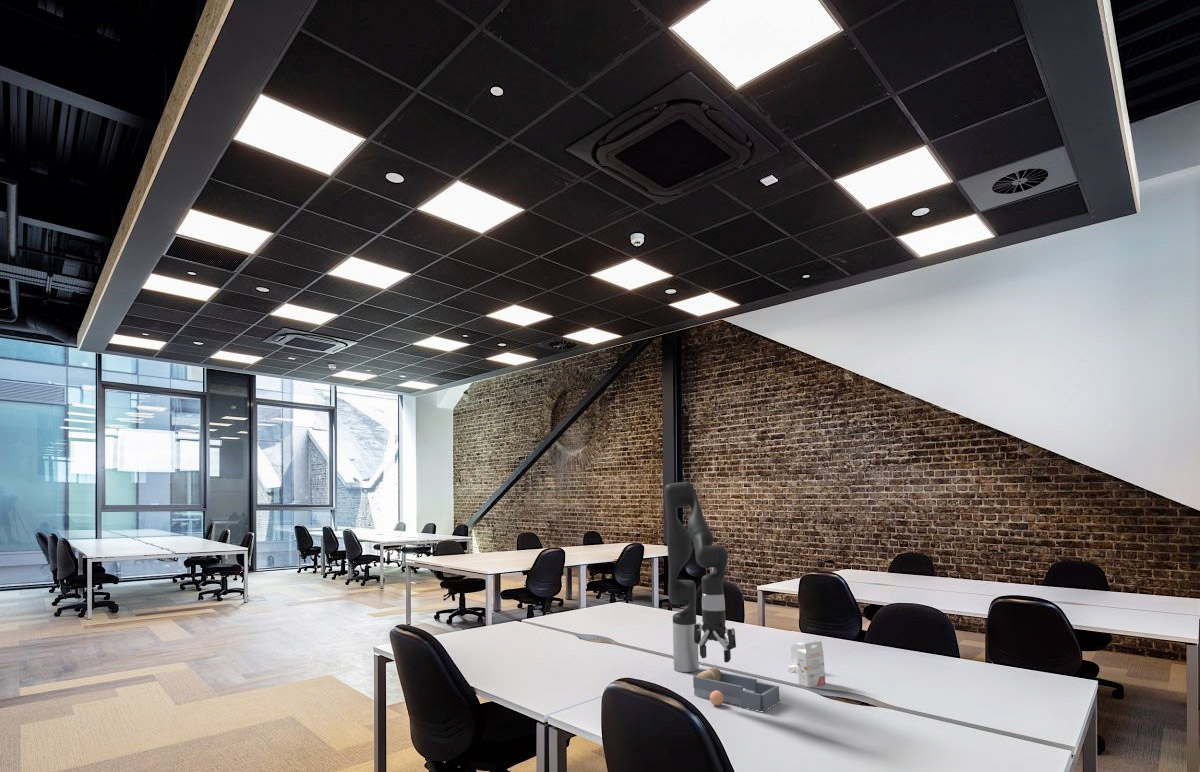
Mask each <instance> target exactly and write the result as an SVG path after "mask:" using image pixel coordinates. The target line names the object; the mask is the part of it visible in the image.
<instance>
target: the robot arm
mask: <svg viewBox="0 0 1200 772" xmlns="http://www.w3.org/2000/svg"><path fill="white" fill-rule="evenodd" d="M664 505H665V506H664V507H665V513H666V527H667V528H666V532H667V533H666V534H667V537H666V538H667V539H666V540H667V541H666V543H667V544H666V545H667V561H668V562H667V563H668V585H667V591H668V592H667V594H668V596H667V597H668V600H669V602H670V604H672V605H683V606H684V605H685V606H686V605H687V607H686V608H684V609H683V610H682V611H679V612H675V613H674V614H673V615H672V643H673V645H672V646H673V648H672V649H673V653H672V654H673V669H674V671H675V672H676V671H677V672H681V673H694V672H696V671H698V670H699V667H700V666H699V665H700V664H699V663H700V662H699V656H700V658H701V659H706V658H707V645H706V644H707V643H708V641H714V642H718V643H719V644H720V645H721V646H722V648H723V649H724V650H723V661H724V663H729V662H730V661H731V660H732V656H731V655H732V654H731V650H733V649H735V648H737V642H736V633H735V628H733V627H731V628H727V627H726V621H727V620H726V599H725V594H724V590H725V589H724V579H725V576H726V575H725V574H726V570H727V565H728V560H729V555H728V551H727V549H726V548H725V547H724V546H723V545H720V544H719V545H713V543H714V536H713V533H712V531H711V529H710V527H709V526H708V524H707V521H706V520H705V517H704V514H703V513H704V512H703V511H702V506H701V503H700V500H699V498H698V495H697V492H696V489H695V487H694V485H693V484H692V482H691V481H681V482H673V483H668V484H666V485H665V487H664ZM685 507H690V509H691V511H690V514H689V517H688V521H687V528H686V527H685V525H684V524H683V523H682V522H681V520H680V519H679V517H678V515H677V509H678V508H679V509H680V508H685ZM692 543H693V547H694V551H695V552H694V555H695V561H696V564H697V565H698V566H699V567H701V568H704V569H705V568H713V570H712V572H709V573H708V574H705V575H703V576H702V578H701V592H702V594H701V595H702V596H701V616H702V618H701V619H702V621H701V622H702V624H701V623H697V611H696V610H697V586H696V585H697V584H696V582H695V581H694V580H691V579H678V576H679V574H680V572H681V570H682V569H683V567H684V566H685V565H686V563H687V562H688V561H689V559H690V557H691V556H692V552H693V551H692V549H693V548H692ZM702 631H703V633H704V634H703V635H702Z"/></svg>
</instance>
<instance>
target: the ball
mask: <svg viewBox="0 0 1200 772" xmlns="http://www.w3.org/2000/svg"><path fill="white" fill-rule="evenodd" d="M709 701H710V703H711V704H712V705H714V706H716V707H718V706H721V705H722V704H723V703H724V702H723V701H724V697H723V694H722V693H721V692H720V691H713V692H712V693H711V695H710V699H709Z"/></svg>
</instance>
